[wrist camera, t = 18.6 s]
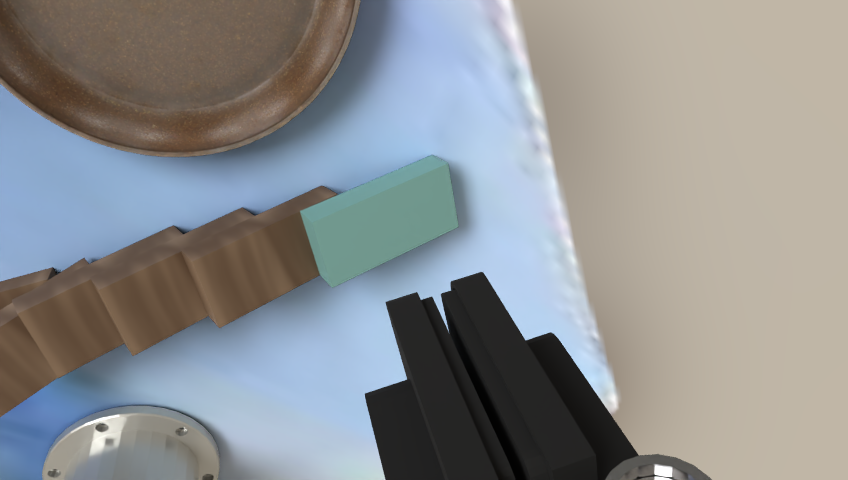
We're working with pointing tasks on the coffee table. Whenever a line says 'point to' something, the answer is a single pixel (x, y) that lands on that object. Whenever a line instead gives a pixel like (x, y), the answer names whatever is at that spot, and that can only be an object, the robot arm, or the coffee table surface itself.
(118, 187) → the coffee table surface
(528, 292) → the coffee table surface
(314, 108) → the coffee table surface
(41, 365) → the domino
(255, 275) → the domino
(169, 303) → the domino
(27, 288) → the domino
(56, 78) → the plant saucer
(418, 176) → the tile
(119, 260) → the domino
